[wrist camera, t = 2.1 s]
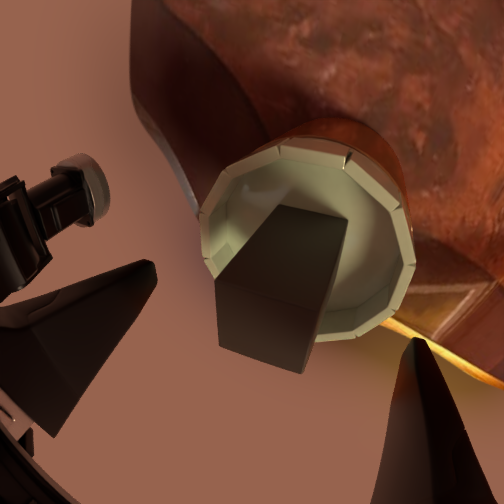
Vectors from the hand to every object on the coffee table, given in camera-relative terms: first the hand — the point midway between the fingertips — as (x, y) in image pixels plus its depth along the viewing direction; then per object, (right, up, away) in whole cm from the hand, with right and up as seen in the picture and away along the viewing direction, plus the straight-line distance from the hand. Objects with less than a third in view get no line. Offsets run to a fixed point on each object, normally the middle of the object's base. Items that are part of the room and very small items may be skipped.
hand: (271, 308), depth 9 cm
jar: (+5, +6, +9) cm, 12 cm away
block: (+2, +2, +4) cm, 5 cm away
